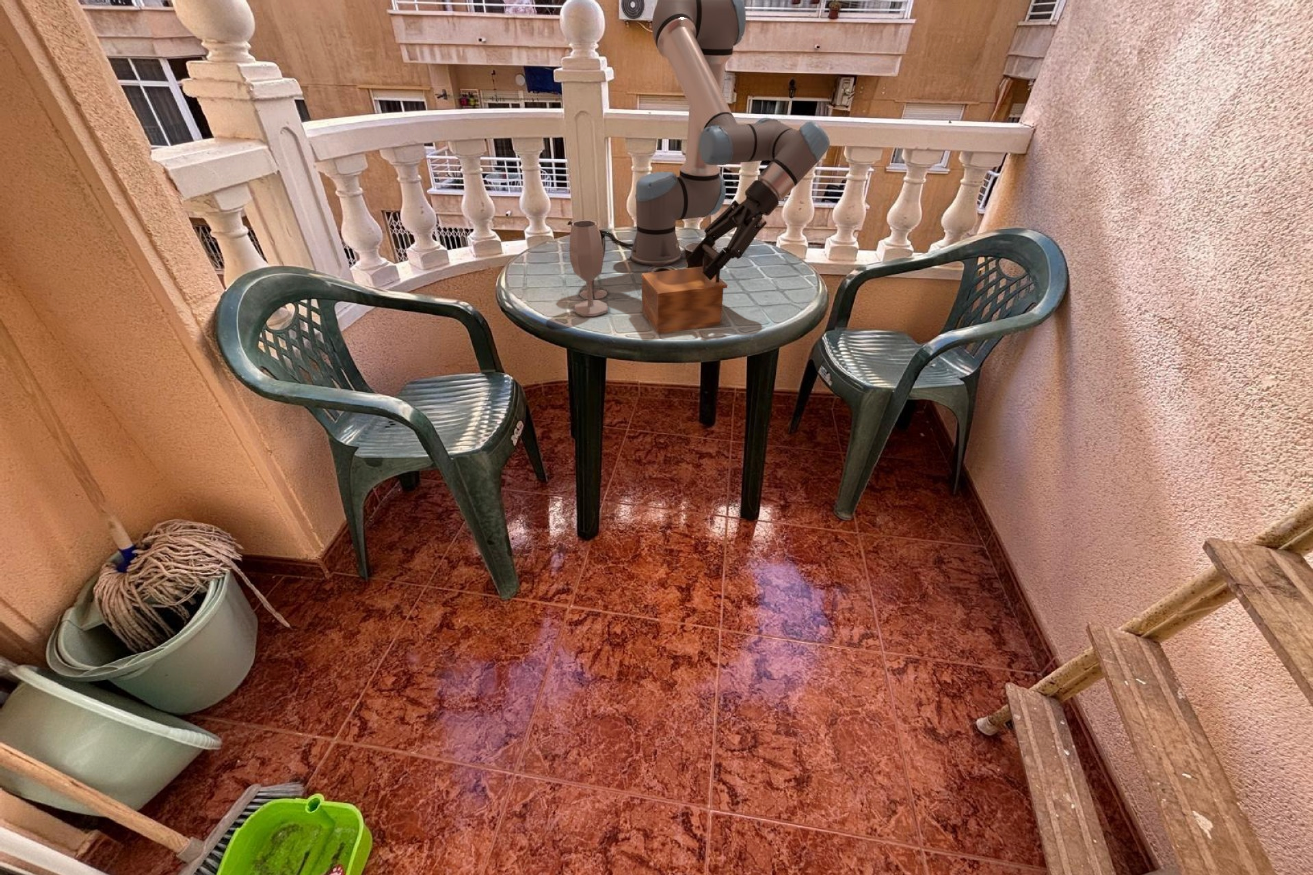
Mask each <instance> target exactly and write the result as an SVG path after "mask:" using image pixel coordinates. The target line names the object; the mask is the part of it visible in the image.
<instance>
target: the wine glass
mask: <svg viewBox="0 0 1313 875" xmlns="http://www.w3.org/2000/svg"><path fill="white" fill-rule="evenodd" d="M600 236H601V241H602V246H603V260H604V258H605V254H606V234H603V233H600ZM592 294H593V300H599V299H602V298H605V297H606V296H607V294H608V292H607V291H606V290H604V289H601V288H595V279H594V280H593V281H592ZM579 296H580V297H581V298H583V299H585V300H588V299H587V289H584V290H582V291H581V292H580V293H579Z"/></svg>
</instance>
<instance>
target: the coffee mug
mask: <svg viewBox="0 0 1313 875" xmlns="http://www.w3.org/2000/svg"><path fill="white" fill-rule="evenodd" d="M700 243H701V241H697V242H689V243H687V244H685V245H684V258H685V259H684V260H685V269H686V268H694V267H703V258H702V259H701V260H700V261H699V262H698V263H697V265H696V266H694V265H693V264H692V263H691V262H690V261H689V260H688V259H687V257H688V256H689V255H690V254H691V253H692V252H693V251H694V249H695V248H696V247H697V246H698V245H699V244H700ZM717 247H718V246H716V244H715V245H714V246H713V247H712V248H713V249H715V250H716V251H718V250H717V249H718V248H717ZM712 261H713V258H711V257H710V256H709V255H708V254H707V261H706V266H708V265H709V264H710V263H711V262H712Z"/></svg>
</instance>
